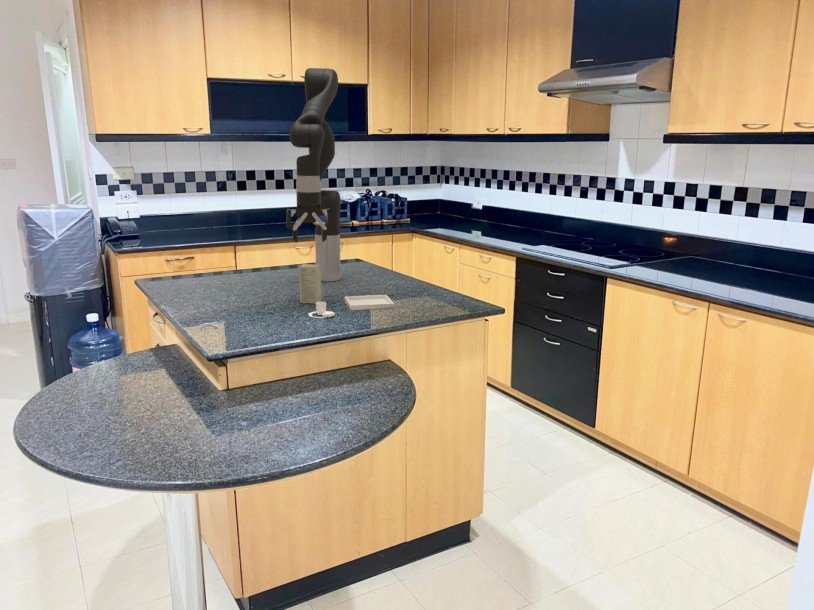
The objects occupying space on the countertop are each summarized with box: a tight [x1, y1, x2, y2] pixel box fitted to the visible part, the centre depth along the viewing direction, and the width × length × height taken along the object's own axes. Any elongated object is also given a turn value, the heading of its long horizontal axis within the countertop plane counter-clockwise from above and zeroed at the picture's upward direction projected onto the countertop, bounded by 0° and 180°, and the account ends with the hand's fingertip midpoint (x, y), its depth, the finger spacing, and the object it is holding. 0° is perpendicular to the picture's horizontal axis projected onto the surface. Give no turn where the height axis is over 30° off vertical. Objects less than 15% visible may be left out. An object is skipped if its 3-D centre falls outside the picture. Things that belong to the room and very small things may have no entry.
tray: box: [344, 294, 395, 311], centre depth 208 cm, size 12×14×2 cm
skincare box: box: [298, 263, 323, 304], centre depth 208 cm, size 6×4×12 cm
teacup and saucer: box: [307, 301, 336, 319], centre depth 194 cm, size 9×8×4 cm
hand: (309, 241), depth 205 cm, fingers open, 8 cm apart
